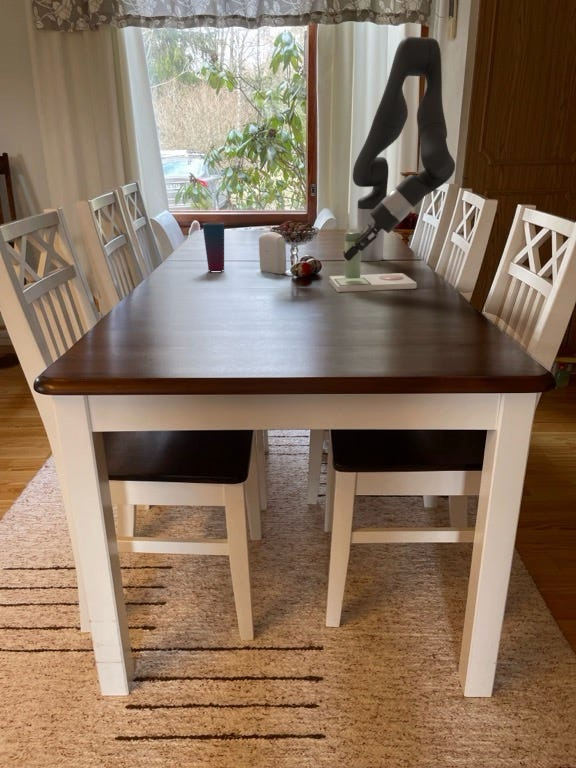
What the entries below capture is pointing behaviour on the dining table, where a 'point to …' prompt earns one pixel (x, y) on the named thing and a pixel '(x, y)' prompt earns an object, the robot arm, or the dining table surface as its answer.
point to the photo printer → (272, 252)
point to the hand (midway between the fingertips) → (345, 256)
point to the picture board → (372, 282)
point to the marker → (355, 263)
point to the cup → (214, 245)
